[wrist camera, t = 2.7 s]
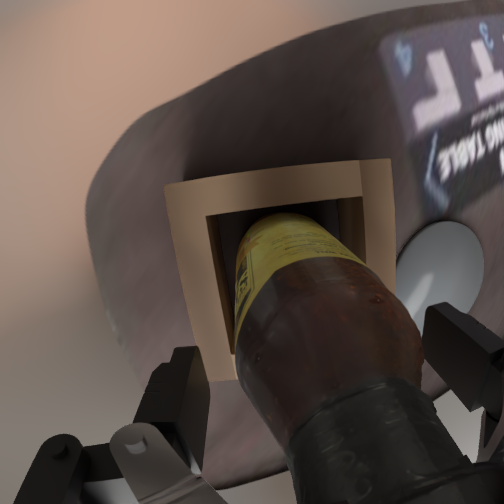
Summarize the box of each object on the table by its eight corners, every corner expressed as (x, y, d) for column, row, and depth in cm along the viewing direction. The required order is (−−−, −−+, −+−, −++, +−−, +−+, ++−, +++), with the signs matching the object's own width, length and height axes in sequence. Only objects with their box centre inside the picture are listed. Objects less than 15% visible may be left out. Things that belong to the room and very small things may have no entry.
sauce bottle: (222, 229, 21) (113, 577, 1) (309, 195, 20) (625, 362, 1) (258, 311, 22) (288, 616, 3) (338, 280, 22) (512, 527, 3)
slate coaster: (482, 215, 21) (486, 216, 20) (473, 319, 23) (476, 321, 23) (388, 227, 21) (392, 229, 20) (386, 344, 23) (389, 348, 23)
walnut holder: (358, 160, 20) (390, 158, 15) (365, 318, 23) (391, 351, 18) (182, 181, 20) (163, 185, 15) (213, 341, 23) (206, 381, 18)
